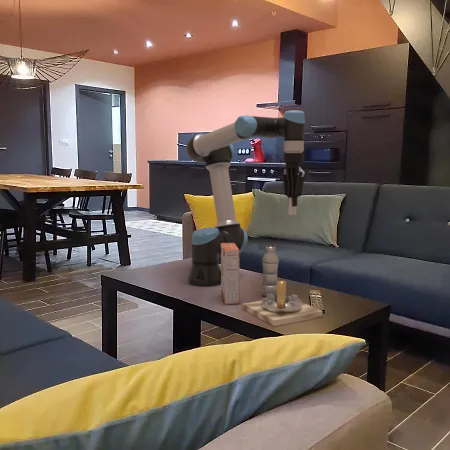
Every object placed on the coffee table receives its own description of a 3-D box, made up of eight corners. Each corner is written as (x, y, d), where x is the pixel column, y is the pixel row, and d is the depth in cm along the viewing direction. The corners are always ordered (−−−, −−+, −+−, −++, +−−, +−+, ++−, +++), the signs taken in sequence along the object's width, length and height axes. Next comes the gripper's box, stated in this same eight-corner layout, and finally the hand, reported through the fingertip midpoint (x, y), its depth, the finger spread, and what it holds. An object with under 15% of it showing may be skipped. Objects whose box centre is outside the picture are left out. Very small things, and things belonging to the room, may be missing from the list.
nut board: (242, 309, 170) (242, 303, 170) (287, 301, 180) (287, 295, 179) (274, 326, 153) (274, 320, 152) (322, 316, 162) (322, 310, 162)
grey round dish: (263, 299, 174) (263, 270, 172) (301, 301, 172) (302, 272, 170) (259, 313, 158) (260, 281, 156) (302, 315, 156) (302, 283, 154)
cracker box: (220, 294, 189) (220, 242, 186) (235, 293, 189) (235, 242, 186) (223, 304, 175) (223, 249, 172) (239, 304, 176) (240, 249, 173)
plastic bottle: (277, 298, 183) (278, 248, 180) (260, 297, 184) (261, 247, 181) (279, 294, 189) (280, 245, 186) (262, 293, 190) (263, 244, 187)
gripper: (312, 152, 175) (310, 215, 178) (291, 152, 186) (290, 212, 189) (296, 152, 171) (294, 217, 174) (275, 152, 182) (274, 213, 186)
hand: (292, 214), depth 182 cm, fingers closed
